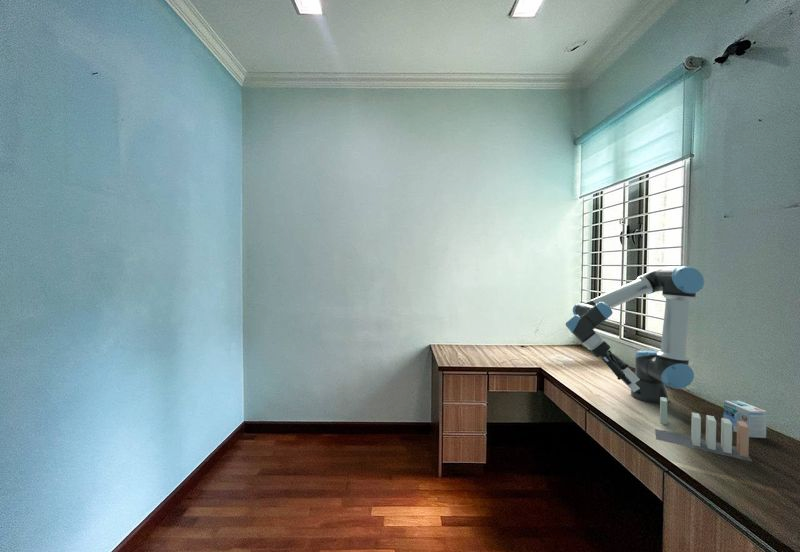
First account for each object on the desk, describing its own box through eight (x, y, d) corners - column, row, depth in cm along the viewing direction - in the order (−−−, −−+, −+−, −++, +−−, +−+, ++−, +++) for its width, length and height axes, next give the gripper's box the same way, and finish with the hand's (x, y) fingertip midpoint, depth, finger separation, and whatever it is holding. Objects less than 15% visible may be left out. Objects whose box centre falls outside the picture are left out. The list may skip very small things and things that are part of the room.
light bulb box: (722, 426, 137) (722, 400, 137) (739, 426, 137) (740, 400, 136) (748, 439, 126) (749, 411, 126) (767, 440, 126) (768, 411, 126)
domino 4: (720, 445, 120) (721, 417, 120) (728, 447, 119) (729, 419, 119) (723, 451, 116) (724, 422, 116) (731, 453, 115) (732, 424, 115)
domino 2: (691, 439, 125) (691, 412, 124) (698, 440, 123) (698, 413, 123) (692, 444, 121) (693, 416, 120) (700, 446, 119) (700, 418, 119)
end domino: (736, 449, 118) (737, 420, 118) (744, 451, 117) (745, 422, 116) (739, 455, 114) (740, 426, 113) (748, 457, 112) (749, 427, 112)
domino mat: (655, 430, 133) (655, 428, 133) (744, 450, 118) (744, 448, 118) (656, 441, 125) (656, 439, 125) (752, 464, 110) (752, 461, 110)
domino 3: (705, 442, 122) (706, 414, 122) (713, 444, 121) (713, 416, 121) (707, 448, 118) (708, 419, 118) (715, 450, 117) (716, 421, 117)
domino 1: (659, 420, 142) (660, 396, 142) (665, 421, 141) (666, 398, 140) (660, 425, 138) (661, 400, 138) (666, 426, 137) (667, 401, 136)
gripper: (593, 345, 164) (630, 382, 156) (586, 356, 144) (628, 399, 135) (606, 336, 161) (644, 373, 153) (601, 345, 141) (645, 389, 132)
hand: (637, 385), depth 144 cm, fingers open, 13 cm apart
